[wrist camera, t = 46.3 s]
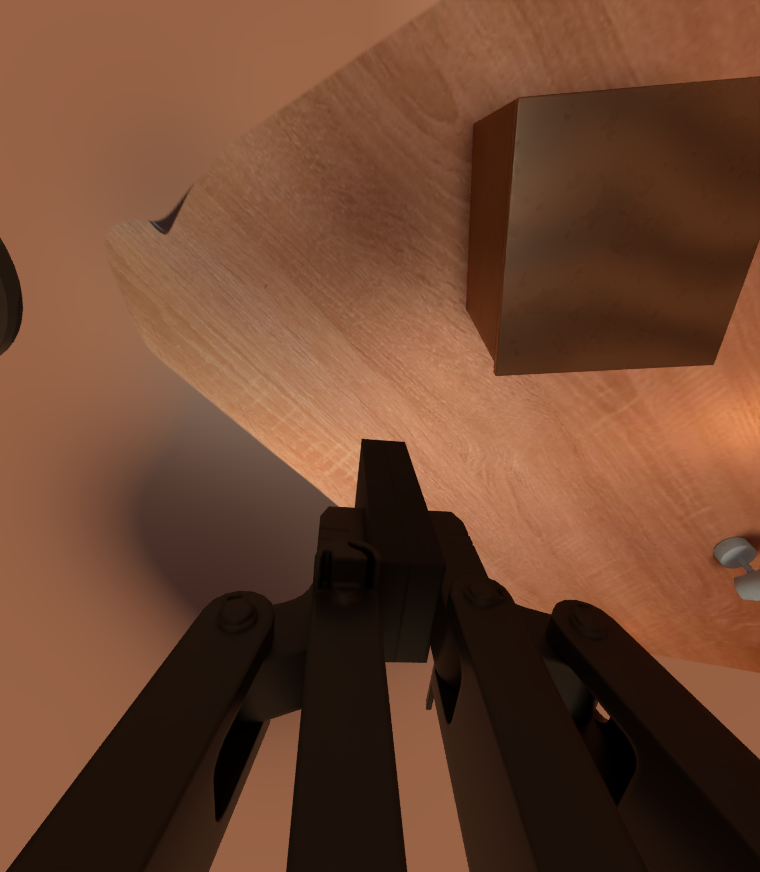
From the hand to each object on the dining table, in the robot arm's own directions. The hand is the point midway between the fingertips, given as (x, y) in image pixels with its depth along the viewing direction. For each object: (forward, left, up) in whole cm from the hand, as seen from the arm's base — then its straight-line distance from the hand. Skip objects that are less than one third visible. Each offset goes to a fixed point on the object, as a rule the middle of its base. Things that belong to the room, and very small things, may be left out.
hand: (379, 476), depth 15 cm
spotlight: (+61, -4, -33) cm, 70 cm away
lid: (+10, +12, -18) cm, 24 cm away
